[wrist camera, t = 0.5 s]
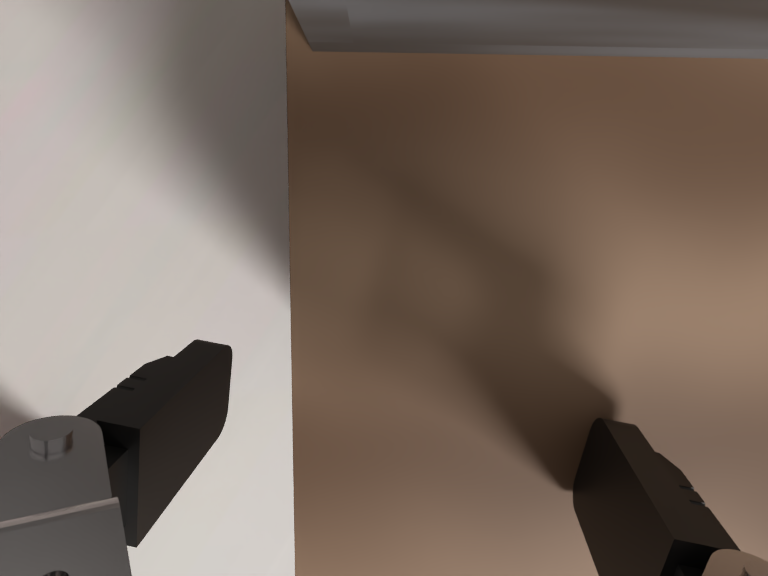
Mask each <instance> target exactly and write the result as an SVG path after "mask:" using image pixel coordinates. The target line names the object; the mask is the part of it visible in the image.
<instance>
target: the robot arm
mask: <svg viewBox="0 0 768 576" xmlns="http://www.w3.org/2000/svg"><path fill="white" fill-rule="evenodd" d="M231 366H232V349H231V347H230V346H229V345H223V344H218V343H213V342H208V341H203V340H194V341H193V342H192V343H190V344H189V345H188V346H187V347H186V348H184V349H183V350H182V351H181V352H179V353H178V354H177V355H176V356H174V357H170V356H166V357H163V358H160V359H157V360H155V361H152V362H149V363H146V364H144V365H143V366H142V367H140V368H139V369H138V370H136V371H135V372H134V373H133V374H131V375H130V377H129V378H126V379H125V380H123V381H122V382H121V383H119V384H118V385H117V388H113V389H111V390H110V391H109V392H108V393H106V394H105V395H104V396H102V397H101V398H100V399H98V400H97V401H96V402H94V403H93V404H92V405H90V406H89V407H88V408H86V409H85V410H84V411H82V412H81V413H80V414H79V415H77V416H51V417H45V418H40V419H36V420H33V421H30V422H27V423H24V424H22V425H20V426H18V427H16V428H14V429H12V430H11V431H9V432H8V433H7V434H5V435H4V436H3V437H2V438H1V440H0V576H132V575H131V569H130V563H129V557H128V551H127V545H128V546H132V547H137V546H138V545H139V544H140V542H141V541H142V540H143V538H144V537H145V536H146V534H147V533H148V531H149V530H150V529H151V527H152V526H153V525H154V523H155V522H156V521H157V519H158V518H159V517H160V515H161V514H162V513H163V511H164V510H165V509H166V507H167V506H168V505H169V503H170V502H171V500H172V499H173V498H174V496H175V495H176V494H177V492H178V491H179V490H180V488H181V487H182V486H183V484H184V483H185V482H186V480H187V479H188V478H189V476H190V475H191V474H192V472H193V471H194V469H195V468H196V467H197V465H198V464H199V463H200V461H201V460H202V459H203V457H204V456H205V455H206V453H207V452H208V451H209V449H210V448H211V447H212V445H213V444H214V443H215V441H216V440H217V439H218V437H219V435H220V434H221V432H222V429H223V427H224V424H225V421H226V417H227V412H228V402H229V390H230V378H231ZM573 506H574V510H575V513H576V516H577V519H578V521H579V524H580V527H581V529H582V532H583V535H584V537H585V540H586V543H587V545H588V548H589V551H590V554H591V556H592V559H593V562H594V564H595V567H596V570H597V572H598V575H599V576H768V562H767V561H765V560H763V559H761V558H759V557H757V556H754V555H752V554H749V553H746V552H743V551H741V550H740V549H739V548H738V546H737V545H736V544H735V542H734V541H733V540H732V538H731V537H730V536H729V534H728V533H727V532H726V530H725V529H724V527H723V526H722V525H721V523H720V522H719V521H718V519H717V518H716V517H715V515H714V514H713V513H712V511H711V510H710V509H709V507H705V502H704V500H703V499H702V498H701V496H700V495H699V494H698V492H696V491H694V487H693V486H692V484H691V483H690V482H689V480H688V479H687V478H686V476H685V475H684V474H683V472H682V471H681V470H680V469H679V468H678V467H677V466H675V465H674V464H673V463H672V462H670V461H669V460H668V459H667V458H665V457H664V456H663V455H662V454H660V453H658V452H655V451H654V449H653V448H652V447H651V445H650V444H649V442H648V441H647V439H646V438H645V437H644V435H643V434H642V432H641V431H640V430H639V428H638V427H637V426H636V425H634V424H629V423H624V422H619V421H614V420H609V419H603V418H597V419H596V420H595V421H594V422H593V424H592V426H591V429H590V432H589V435H588V438H587V441H586V444H585V448H584V451H583V454H582V457H581V460H580V464H579V467H578V470H577V473H576V476H575V480H574V485H573Z"/></svg>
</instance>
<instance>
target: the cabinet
mask: <svg viewBox="0 0 768 576" xmlns="http://www.w3.org/2000/svg"><path fill="white" fill-rule="evenodd" d="M285 7H286V66H287V124H288V183H289V242H290V300H291V359H292V417H293V476H294V534H295V576H599V575H598V572H597V570H596V567H595V564H594V562H593V559H592V556H591V554H590V551H589V548H588V545H587V543H586V540H585V537H584V535H583V532H582V529H581V527H580V524H579V521H578V519H577V516H576V513H575V510H574V506H573V485H574V480H575V476H576V473H577V470H578V467H579V464H580V460H581V457H582V454H583V451H584V448H585V444H586V441H587V438H588V435H589V432H590V429H591V426H592V424H593V422H594V421H595V420H596V419H597V418H603V419H609V420H614V421H619V422H624V423H629V424H634V425H636V426H637V427H638V428H639V430H640V431H641V432H642V434H643V435H644V437H645V438H646V439H647V441H648V442H649V444H650V445H651V447H652V448H653V449H654V451H655V452H658V453H660V454H662V455H663V456H664V457H665V458H667V459H668V460H669V461H670V462H672V463H673V464H674V465H675V466H677V467H678V468H679V469H680V470H681V471H682V472H683V474H684V475H685V476H686V478H687V479H688V480H689V482H690V483H691V484H692V486H693V487H694V491H696V492H698V494H699V495H700V496H701V498H702V499H703V500H704V502H705V507H709V509H710V510H711V511H712V513H713V514H714V515H715V517H716V518H717V519H718V521H719V522H720V523H721V525H722V526H723V527H724V529H725V530H726V532H727V533H728V534H729V536H730V537H731V538H732V540H733V541H734V542H735V544H736V545H737V546H738V548H739V549H740V550H741V551H743V552H746V553H749V554H752V555H754V556H757V557H759V558H761V559H763V560H765V561H767V562H768V0H285Z"/></svg>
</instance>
